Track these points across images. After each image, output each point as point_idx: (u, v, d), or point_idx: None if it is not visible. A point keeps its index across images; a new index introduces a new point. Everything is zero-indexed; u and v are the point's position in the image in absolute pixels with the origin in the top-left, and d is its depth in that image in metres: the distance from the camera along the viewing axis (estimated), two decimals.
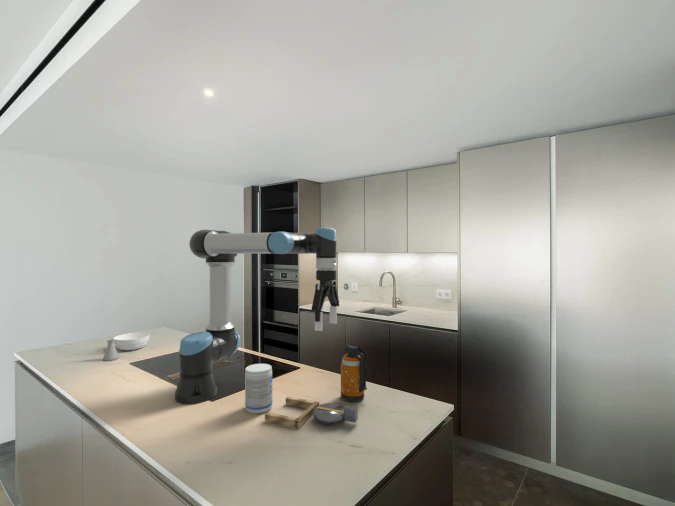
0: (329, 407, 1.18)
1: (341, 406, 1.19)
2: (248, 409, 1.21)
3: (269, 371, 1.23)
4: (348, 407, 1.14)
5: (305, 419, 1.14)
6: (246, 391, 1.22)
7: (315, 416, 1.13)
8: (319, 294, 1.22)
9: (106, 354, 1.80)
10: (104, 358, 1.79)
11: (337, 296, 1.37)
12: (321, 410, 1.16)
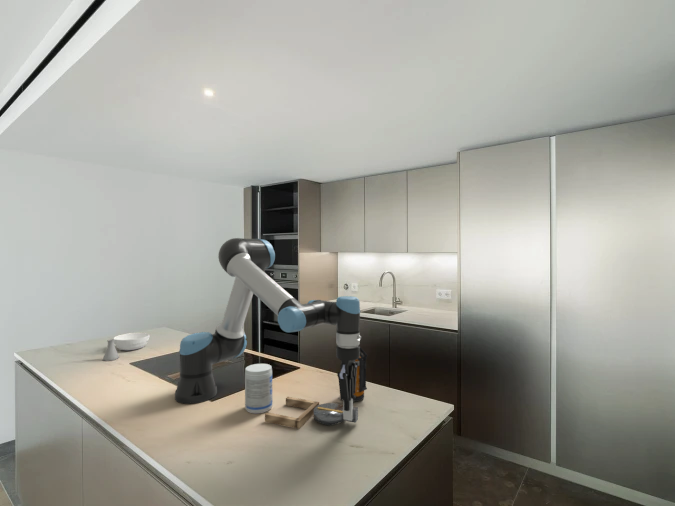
0: (329, 407, 1.18)
1: (341, 406, 1.19)
2: (248, 409, 1.21)
3: (269, 371, 1.23)
4: None
5: (305, 419, 1.14)
6: (246, 391, 1.22)
7: (315, 416, 1.13)
8: (345, 384, 1.07)
9: (106, 354, 1.80)
10: (104, 358, 1.79)
11: (355, 382, 1.15)
12: (321, 410, 1.16)
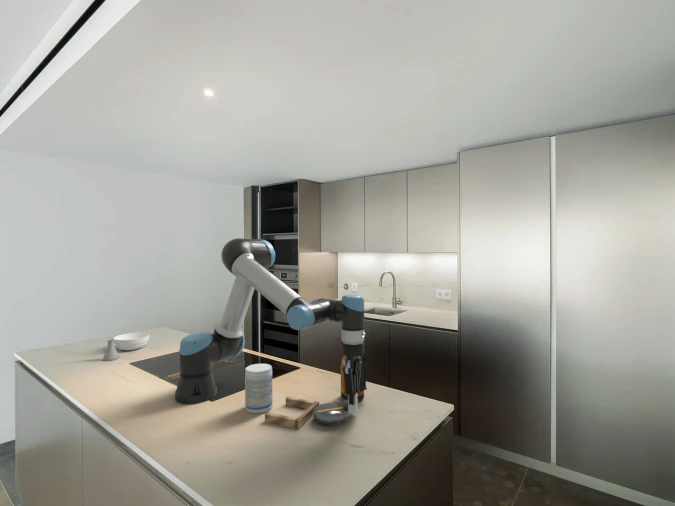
0: (325, 408, 1.17)
1: (333, 404, 1.21)
2: (248, 409, 1.21)
3: (269, 371, 1.23)
4: None
5: (305, 419, 1.14)
6: (246, 391, 1.22)
7: (324, 420, 1.11)
8: (350, 379, 1.11)
9: (106, 354, 1.80)
10: (104, 358, 1.79)
11: (359, 378, 1.19)
12: (324, 413, 1.14)
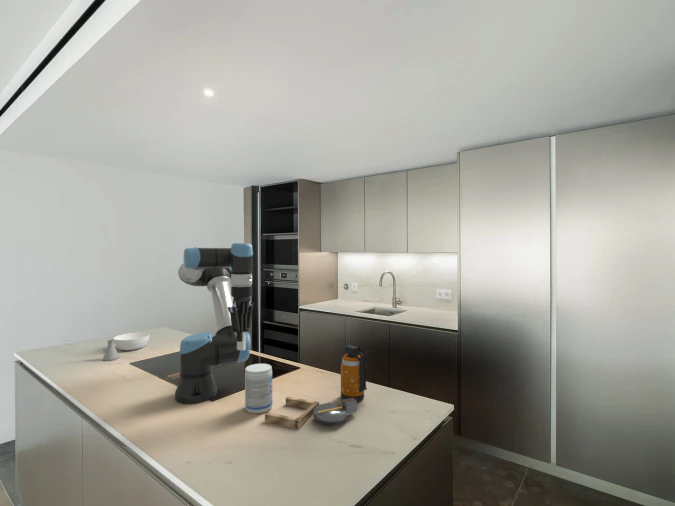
0: (325, 408, 1.17)
1: (332, 404, 1.21)
2: (248, 409, 1.21)
3: (269, 371, 1.23)
4: (347, 400, 1.19)
5: (305, 419, 1.14)
6: (246, 391, 1.22)
7: (326, 420, 1.11)
8: (235, 317, 1.23)
9: (106, 354, 1.80)
10: (104, 358, 1.79)
11: (250, 319, 1.31)
12: (324, 413, 1.14)
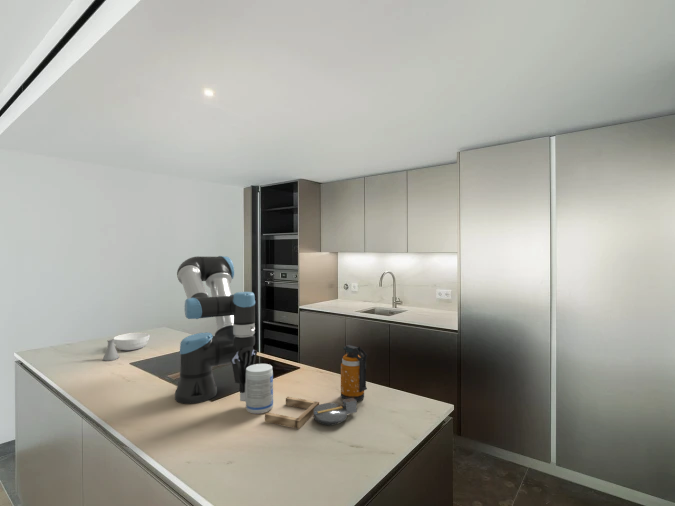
0: (325, 408, 1.17)
1: (332, 404, 1.21)
2: (249, 409, 1.21)
3: (270, 371, 1.23)
4: (347, 400, 1.19)
5: (305, 419, 1.14)
6: (247, 391, 1.22)
7: (326, 420, 1.11)
8: (237, 369, 1.22)
9: (106, 354, 1.80)
10: (104, 358, 1.79)
11: None
12: (324, 413, 1.14)
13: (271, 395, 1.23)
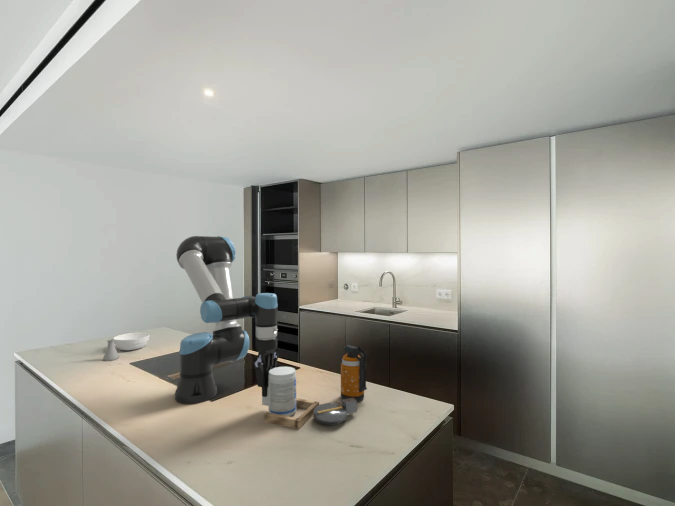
0: (325, 408, 1.17)
1: (332, 404, 1.21)
2: None
3: (293, 374, 1.20)
4: (347, 400, 1.19)
5: (305, 419, 1.14)
6: (270, 395, 1.18)
7: (326, 420, 1.11)
8: (260, 372, 1.18)
9: (106, 354, 1.80)
10: (104, 358, 1.79)
11: None
12: (324, 413, 1.14)
13: (295, 399, 1.20)
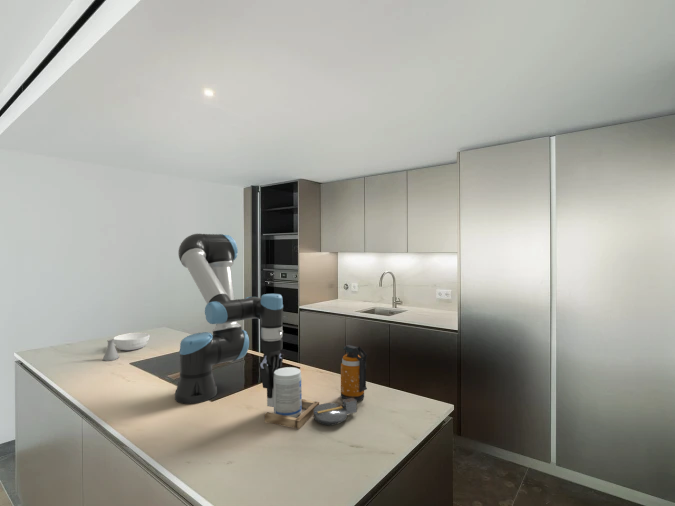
0: (325, 408, 1.17)
1: (332, 404, 1.21)
2: None
3: (299, 375, 1.19)
4: (347, 400, 1.19)
5: (305, 419, 1.14)
6: (275, 396, 1.18)
7: (326, 420, 1.11)
8: (266, 374, 1.18)
9: (106, 354, 1.80)
10: (104, 358, 1.79)
11: None
12: (324, 413, 1.14)
13: (300, 400, 1.19)
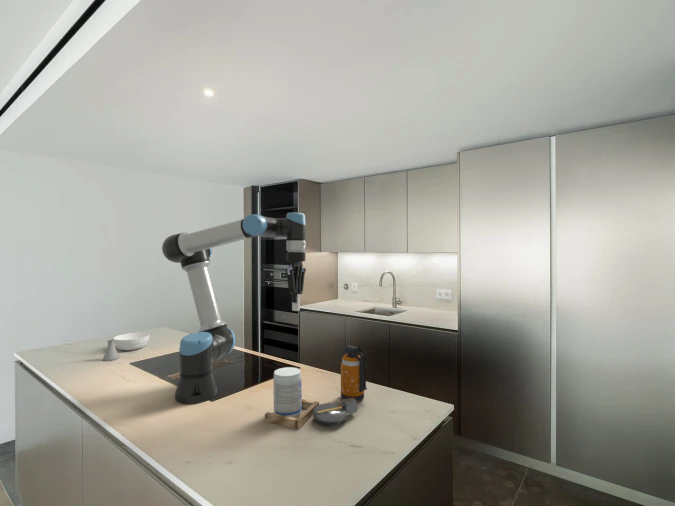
0: (325, 408, 1.17)
1: (332, 404, 1.21)
2: None
3: (299, 375, 1.19)
4: (347, 400, 1.19)
5: (305, 419, 1.14)
6: (275, 396, 1.18)
7: (326, 420, 1.11)
8: (291, 279, 1.35)
9: (106, 354, 1.80)
10: (104, 358, 1.79)
11: (303, 283, 1.43)
12: (324, 413, 1.14)
13: (300, 400, 1.19)
